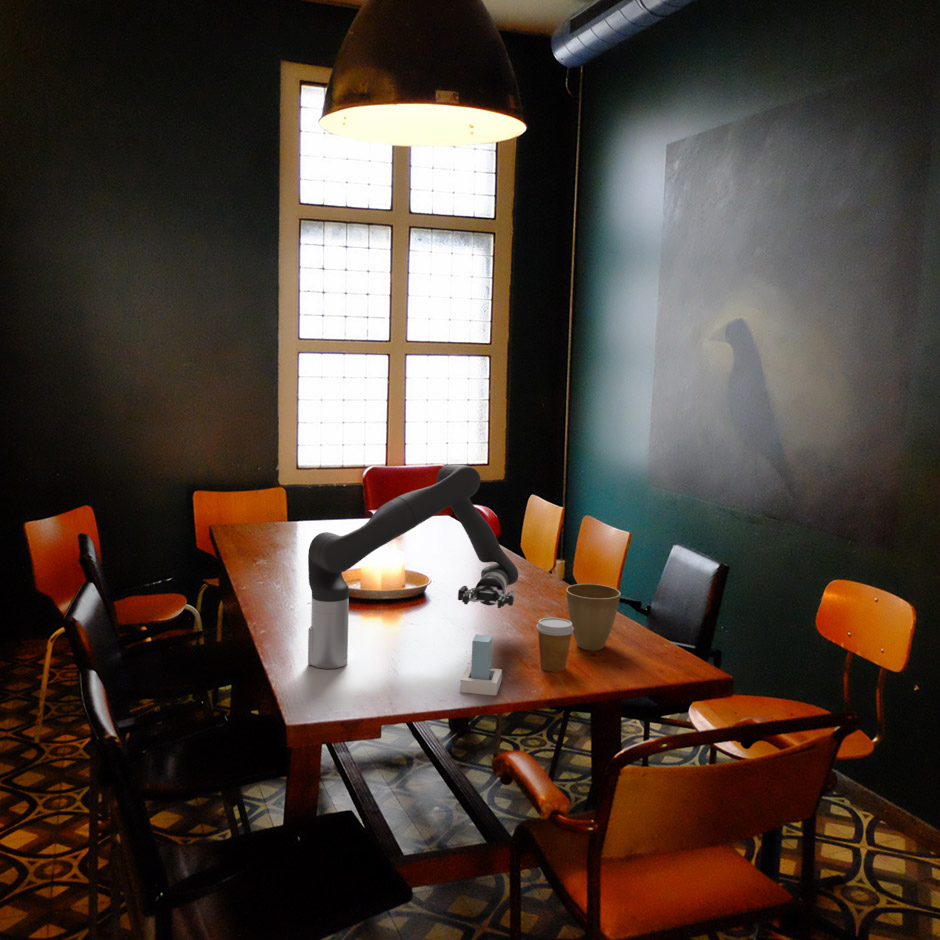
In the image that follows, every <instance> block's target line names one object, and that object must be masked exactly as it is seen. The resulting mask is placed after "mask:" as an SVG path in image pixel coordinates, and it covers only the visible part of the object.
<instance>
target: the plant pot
mask: <svg viewBox="0 0 940 940" xmlns="http://www.w3.org/2000/svg"><path fill="white" fill-rule="evenodd" d="M565 592H566V604H567V610H568V616H569V621H571V622H572V626H573V628H574V630H573V632H572V634H573V637H574V640H575V642H576V646H577V647H578V648H579V647H580V649H581V648H582V650H585V649H586V650H585V651H599V650H600V649H601V650H602V648H603V649H604V648H605V645H606V643H607V641H608V639H609V636H610V633H611V632H612V628H613V625H614V623H615V619H616V615H617V611H618V607H619V603H620V599H621V592H620V591H619V590H618V589H616V588H615V587H611V586H608V585H603V584H598V583H596V584H595V583H578V584H573V585H570V586H567V587H566V591H565Z"/></svg>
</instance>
